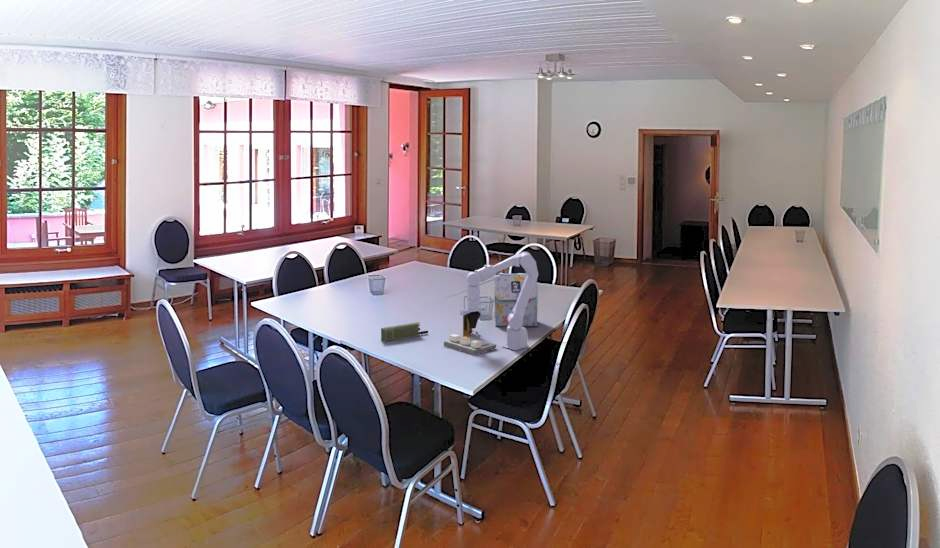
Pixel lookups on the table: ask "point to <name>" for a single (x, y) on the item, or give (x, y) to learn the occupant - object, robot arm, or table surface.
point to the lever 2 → (475, 344)
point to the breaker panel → (467, 348)
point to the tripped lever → (465, 340)
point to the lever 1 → (454, 338)
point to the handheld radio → (401, 331)
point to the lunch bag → (513, 299)
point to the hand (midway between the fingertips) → (473, 327)
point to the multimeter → (467, 325)
